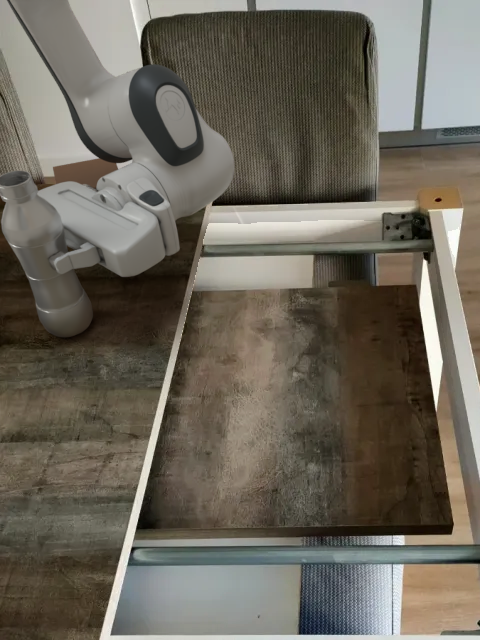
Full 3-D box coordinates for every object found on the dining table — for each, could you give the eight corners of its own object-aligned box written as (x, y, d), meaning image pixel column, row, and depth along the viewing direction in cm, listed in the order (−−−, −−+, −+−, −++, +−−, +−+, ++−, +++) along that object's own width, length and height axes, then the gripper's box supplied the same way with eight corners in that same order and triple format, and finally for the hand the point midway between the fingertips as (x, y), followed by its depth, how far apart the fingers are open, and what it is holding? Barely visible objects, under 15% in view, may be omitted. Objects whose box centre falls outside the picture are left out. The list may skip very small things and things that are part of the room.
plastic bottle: (35, 340, 82) (-32, 191, 68) (62, 307, 87) (4, 161, 72) (82, 347, 81) (23, 197, 66) (106, 313, 86) (56, 166, 71)
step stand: (75, 245, 97) (57, 194, 91) (69, 215, 103) (52, 166, 97) (136, 232, 99) (122, 182, 93) (126, 204, 105) (113, 155, 99)
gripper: (72, 159, 85) (-24, 203, 78) (179, 208, 76) (80, 263, 69) (87, 204, 89) (-3, 249, 82) (188, 255, 80) (97, 311, 73)
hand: (35, 256), depth 75 cm, fingers closed on plastic bottle, 6 cm apart
